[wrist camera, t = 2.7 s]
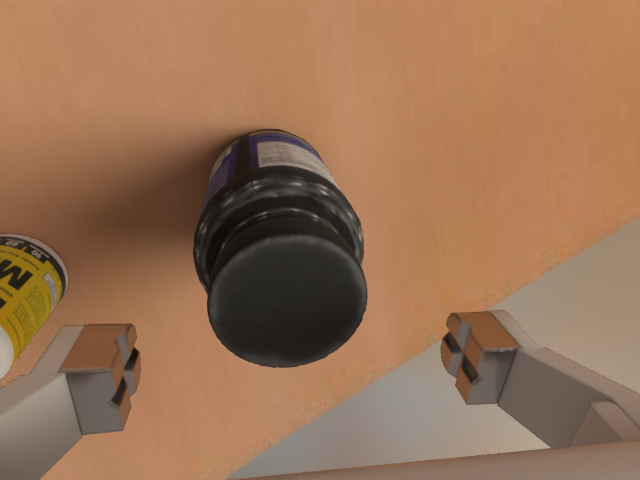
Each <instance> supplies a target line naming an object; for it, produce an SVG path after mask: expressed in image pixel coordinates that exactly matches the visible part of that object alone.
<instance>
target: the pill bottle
mask: <svg viewBox="0 0 640 480" xmlns="http://www.w3.org/2000/svg"><path fill="white" fill-rule="evenodd" d="M193 255H194V263H195V268H196V273H197V275H198V277H199V280H200V282H201V284H202V286H203V287H204V289H205V291H206V293H207V294H208V299H207V311H208V316H209V321H210V323H211V326H212V328H213V330H214V332H215V334H216V336H217V338H218V339H219V340H220V341H221V343H222V344H223V345H224V346H225V347H226V348H227V349H228V350H230V351H231V352H232V353H234V354H235V355H236V356H238V357H240V358H242V359H244V360H246V361H249V362H252V363H255V364H258V365H260V366H267V367H273V368H275V367H279V368H284V367H286V368H289V367H296V366H300V365H305V364H309V363H312V362H315V361H318V360H320V359H323V358H325V357H327V356H328V355H329V354H331V353H333V352H334V351H336V350H337V349H338V348H339V347H341V346H342V345H343V344H344V343H346V342H347V341H348V340H349V339H350V337H351V336H352V335H353V334H354V333H355V331H356V329H357V328H358V327H359V325H360V323H361V321H362V318H363V314H364V312H365V310H366V305H367V297H368V296H367V284H366V280H365V277H364V273H363V270H362V268H361V265H362V259H363V255H364V241H363V235H362V228H361V223H360V221H359V218H358V216H357V215H356V213H355V212H354V210H353V208H352V206H351V204H350V203H349V202H348V200H347V199H346V197H345V195H344V194H343V192H342V191H341V189H340V188H339V186H338V185H337V183H336V181H335V180H334V178H333V176H332V175H331V173H330V172H329V170H328V169H327V167H326V166H325V164H324V163H323V161H322V159H321V158H320V156H319V154H318V153H317V151H316V150H315V149H314V148H313V147H312V146H311V145H310V144H308V143H307V142H306V141H305V140H304V139H302V138H300V137H298V136H296V135H294V134H291V133H289V132H286V131H284V130H280V129H266V130H265V129H263V130H257V131H255V132H252V133H247V134H245V135H243V136H240V137H238V138H236V139H235V140H233V141H232V142H231V143H230V144H228V145H227V147H226V148H224V149H223V151H222V152H221V154H220V155H219V156H218V157H217V160H216V162H215V164H214V166H213V169H212V172H211V175H210V179H209V183H208V186H207V190H206V194H205V198H204V202H203V206H202V210H201V214H200V218H199V222H198V225H197V227H196V231H195V236H194V247H193Z"/></svg>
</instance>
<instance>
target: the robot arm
mask: <svg viewBox="0 0 640 480" xmlns="http://www.w3.org/2000/svg"><path fill="white" fill-rule="evenodd" d="M446 326H447V328H448V329H449V332H448V333H447V334H446V335H445V336H444V337H443V338H442V344H441V359H442V362H443V365H444V367H445V369H446V370H447V372H448V373H449V374H451V375H452V376H454V377H455V378H457V380H456V384H455V386H456V388H457V389H458V391H459V393H460V394H461V396H462V397H463V399H464V401H465V403H466V404H467V405H479V404H498V406H499V407H500V408H501V409H503V410H504V411H505V412H506V413H508V414H509V415H510V416H512V417H513V418H514V419H515V420H517V421H518V422H519V423H520V424H522V425H523V426H524V427H526V428H527V429H528V430H529V431H531V432H532V433H533V434H534V435H536V436H537V437H538V438H539V439H541V440H542V441H543V442H545V443H546V444H547V445H548V446H550V447H551V448H549V449H538V450H529V451H518V452H507V453H497V454H487V455H476V456H466V457H456V458H445V459H435V460H425V461H414V462H404V463H393V464H383V465H373V466H364V467H353V468H343V469H333V470H322V471H312V472H301V473H291V474H281V475H271V476H261V477H251V478H240V479H230V480H640V393H638V392H636V391H633V390H631V389H629V388H627V387H625V386H623V385H621V384H619V383H617V382H615V381H613V380H611V379H609V378H607V377H605V376H603V375H601V374H599V373H597V372H595V371H593V370H591V369H589V368H587V367H585V366H583V365H581V364H579V363H577V362H575V361H573V360H571V359H569V358H566V357H564V356H562V355H560V354H558V353H556V352H554V351H552V350H550V349H548V348H541V347H540V346H539V345H538V344H537V343H536V342H535V341H534V340H533V339H532V338H531V337H530V335H529V334H528V333H527V332H526V331H525V330H524V329H523V328H522V327H521V326H520V325H519V324H518V323H517V322H516V320H514V318H513V317H512V316H511V315H510V314H509V313H508V312H506V311H504V310H491V311H485V312H459V313H451V314H450V315H449V317H448V319H447V323H446ZM136 339H137V334H136V329H135V326H134V325H133V324H88V325H86V324H82V325H65V326H63V327H61V328H60V329H59V331H58V332H57V334H56V335H55V337H54V338H53V340H52V341H51V343H50V344H49V346H48V347H47V349H46V350H45V352H44V353H43V355H42V356H41V358H40V359H39V360H38V362H37V363H36V365H35V366H34V368H33V369H32V371H31V372H30V374H29V375H21V376H19V377H17V378H16V379H14V380H12V381H11V382H9V383H8V384H6V385H4V386H3V387H1V388H0V480H39V479H40V478H41V477H42V476H43V475H44V474H46V473H47V472H48V471H49V470H50V469H51V468H52V467H53V466H54V465H55V464H56V463H57V462H58V461H59V460H60V459H61V458H62V457H63V456H64V455H65V454H66V453H67V452H68V451H69V450H70V449H71V448H72V447H73V446H74V445H75V444H76V443H77V442H78V441H79V440H80V439H81V438H82V435H87V434H97V433H107V432H117V431H123V430H124V427H125V424H126V421H127V418H128V415H129V412H130V409H131V403H130V396H131V395H133V394H134V393H135V392H136V390H137V387H138V384H139V379H140V372H141V359H140V352H139V351H138V350H137V349H136V348H134V344H135V342H136Z"/></svg>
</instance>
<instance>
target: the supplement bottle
mask: <svg viewBox="0 0 640 480" xmlns="http://www.w3.org/2000/svg"><path fill="white" fill-rule="evenodd" d="M67 286H68V274H67V270H66V267H65V265H64V263H63V261H62V260H61V258H60V257H59V256H58V255H57V254H56V253H55V252H54V251H53V250H52V249H51V248H50V247H48V246H47V245H45V244H44V243H42V242H40V241H38V240H36V239H34V238H31V237H28V236H24V235H18V234H0V379H1V378H2V377H3V376H5V375H6V374H7V372H8V371H9V370H10V368H11V367H12V366H13V364H14V363H15V362H16V360H17V359H18V357H19V356H20V355H21V353H22V352H23V351H24V349H25V348H26V347H27V345H28V344H29V342H30V341H31V340H32V338H33V337H34V336H35V334H36V333H37V332H38V330H39V329H40V328H41V326H42V325H43V323H44V322H45V321H46V319H47V318H48V316H49V315H50V314H51V313H52V311H53V310H54V308H55V307H56V305H57V304H58V303H59V301H60V300H61V299H62V297H63V296H64V294H65V292H66V289H67Z"/></svg>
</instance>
